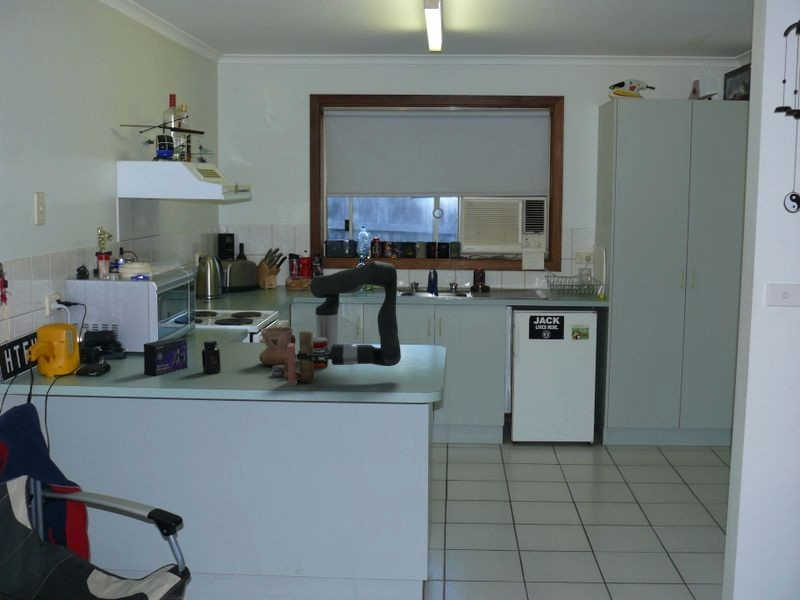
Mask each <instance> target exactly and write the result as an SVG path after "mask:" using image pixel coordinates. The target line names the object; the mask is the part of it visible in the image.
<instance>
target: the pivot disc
mask: <svg viewBox="0 0 800 600" xmlns="http://www.w3.org/2000/svg"><path fill="white" fill-rule="evenodd" d="M271 377H273V378H285V377H284V371H273V369H272V370H271Z"/></svg>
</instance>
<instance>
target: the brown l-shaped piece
mask: <svg viewBox="0 0 800 600" xmlns="http://www.w3.org/2000/svg"><path fill="white" fill-rule="evenodd" d="M313 332H314V331H312V330H302V331H299V332H298V334H299V335H298V338H299V351H300V353H313V338H314V333H313ZM312 358H313V356H312ZM299 364H300V366H299V367H300V368H299V370H300V371H299V370H296V380H297V381H300V383H304V384H308V383H314V382H315V372H314V371H315V370H314V362H313V361H311V362H310V361H308V360H299ZM272 370H273V371H284V377H283V378H287V379H288V360H286V361H284V365H276V366H272Z"/></svg>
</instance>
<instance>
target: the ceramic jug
mask: <svg viewBox="0 0 800 600" xmlns="http://www.w3.org/2000/svg"><path fill="white" fill-rule="evenodd" d="M293 331H294V328H293V327H289V326H272V327H270V326H269V327H266V328H262V329H261V331H260V332H261V337H262V338H261V339H259V343H260V344H265V346H266V348H265V349H264V350H263V351H261V353H260V354H259V361H260V362H261V363H262V364H264V365H266V366H269V367H273V366H276V365H284V361H286V360H288V358H287V346H288V345H289V343H295V344H296V342H297V341H296V336H295V334H293ZM295 360H297V353H296V352H295Z"/></svg>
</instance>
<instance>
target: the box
mask: <svg viewBox="0 0 800 600" xmlns="http://www.w3.org/2000/svg"><path fill="white" fill-rule="evenodd" d="M143 365H144V366H143V369H144V370H143V373H144V375H146V374H149V375H148V376H153V375H158V376H160V374H162V375H164V373H166V374H169V373H168V372H170V373H173V372H172V371H174V372H177V371H176V370H178V371H181V370H180V369H182V370H185V368H186V369H188V338H182V337H176V336H175V337H171V338H167V339H162V340H161V339H160V340H158V341H152V342H147V343H143Z"/></svg>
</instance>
